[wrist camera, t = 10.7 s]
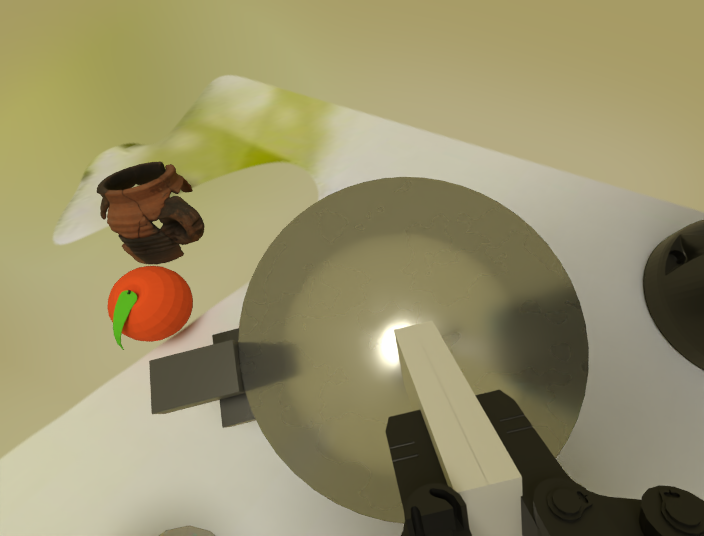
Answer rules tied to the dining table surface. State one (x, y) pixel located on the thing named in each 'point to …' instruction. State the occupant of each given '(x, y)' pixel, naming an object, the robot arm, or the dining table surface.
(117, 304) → the clementine
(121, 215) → the pottery mug
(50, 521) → the dining table surface
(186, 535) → the french press
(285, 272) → the cooker lid
